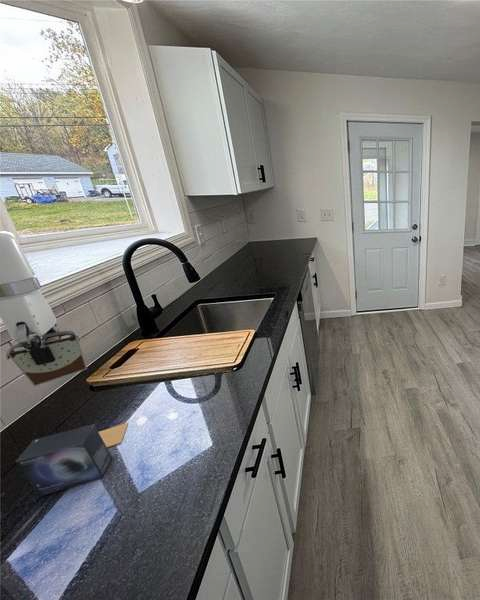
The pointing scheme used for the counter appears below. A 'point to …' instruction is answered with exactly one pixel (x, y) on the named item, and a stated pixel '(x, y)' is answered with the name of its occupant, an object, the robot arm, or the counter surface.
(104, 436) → the cork pad
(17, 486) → the counter surface
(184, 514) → the counter surface
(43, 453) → the small box
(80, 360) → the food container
